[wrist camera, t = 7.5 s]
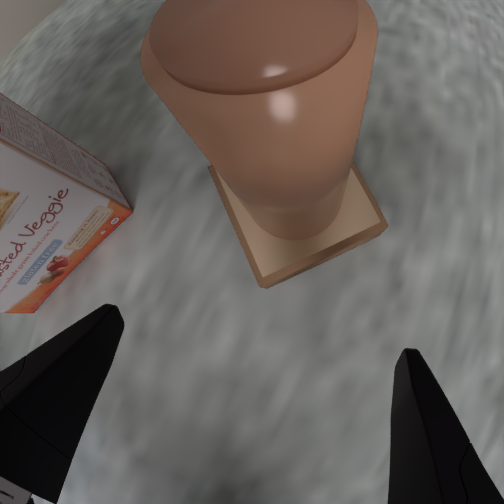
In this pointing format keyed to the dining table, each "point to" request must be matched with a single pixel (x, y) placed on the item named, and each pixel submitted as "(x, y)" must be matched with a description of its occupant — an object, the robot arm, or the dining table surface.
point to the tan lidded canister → (269, 98)
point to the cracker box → (48, 207)
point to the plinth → (311, 249)
